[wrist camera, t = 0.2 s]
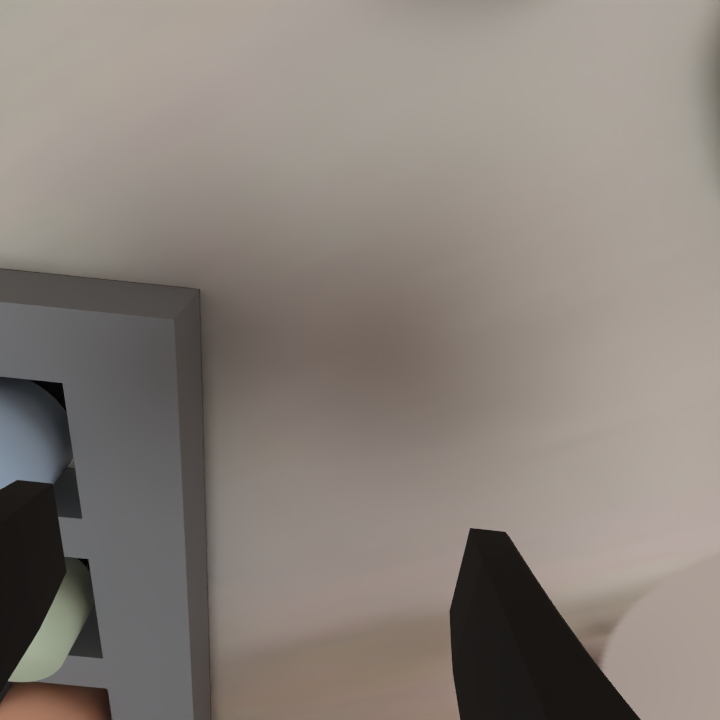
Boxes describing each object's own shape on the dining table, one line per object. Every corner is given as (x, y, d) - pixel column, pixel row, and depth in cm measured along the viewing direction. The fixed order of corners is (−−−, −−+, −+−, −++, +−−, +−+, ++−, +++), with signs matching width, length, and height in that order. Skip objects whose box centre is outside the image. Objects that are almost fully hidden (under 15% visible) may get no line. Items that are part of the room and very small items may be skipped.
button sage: (102, 628, 23) (73, 687, 21) (-8, 617, 23) (-50, 676, 21) (90, 545, 21) (57, 601, 19) (-30, 533, 21) (-78, 588, 19)
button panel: (211, 746, 29) (197, 802, 27) (-31, 723, 29) (-66, 777, 27) (199, 289, 19) (173, 319, 16) (-184, 250, 18) (-262, 275, 16)
